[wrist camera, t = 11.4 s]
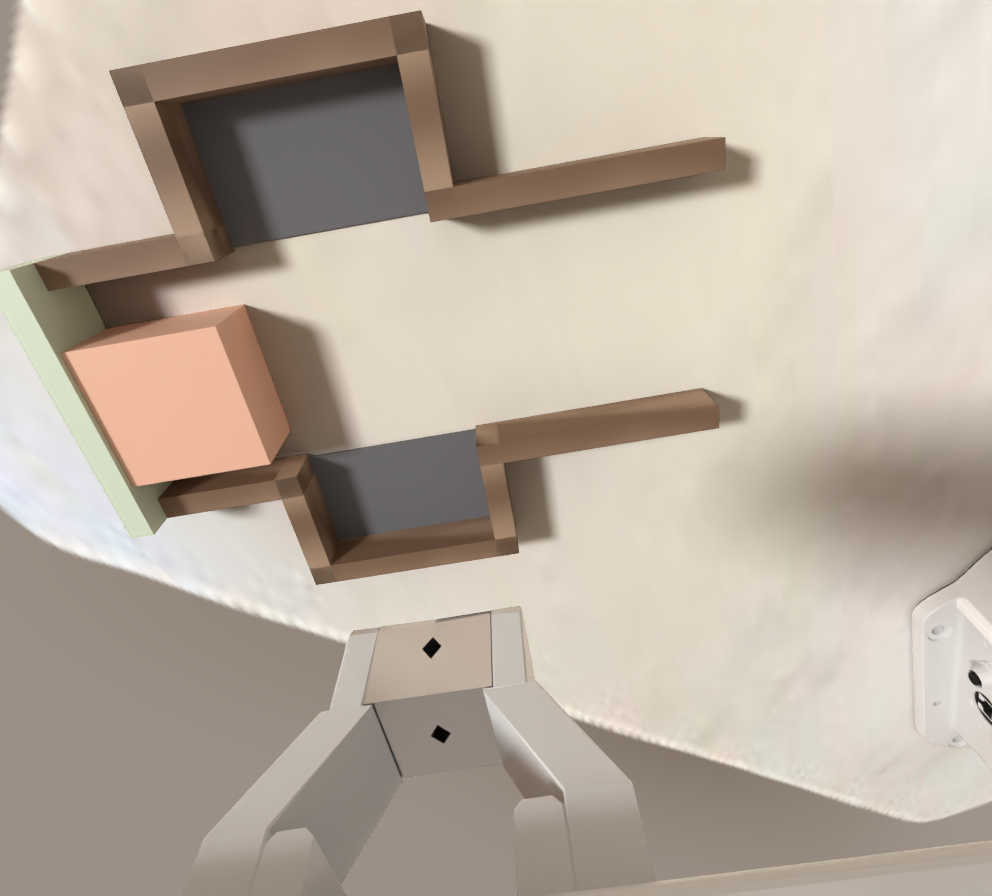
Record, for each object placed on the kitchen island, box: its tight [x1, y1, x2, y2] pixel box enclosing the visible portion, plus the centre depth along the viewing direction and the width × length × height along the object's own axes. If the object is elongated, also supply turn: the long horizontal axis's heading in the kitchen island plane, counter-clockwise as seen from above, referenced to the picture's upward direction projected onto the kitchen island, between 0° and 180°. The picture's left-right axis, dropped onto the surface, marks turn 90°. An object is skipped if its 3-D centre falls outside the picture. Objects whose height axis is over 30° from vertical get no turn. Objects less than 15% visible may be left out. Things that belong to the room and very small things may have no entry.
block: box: [61, 304, 291, 487], centre depth 29 cm, size 7×7×4 cm
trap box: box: [0, 10, 725, 585], centre depth 28 cm, size 25×31×4 cm
